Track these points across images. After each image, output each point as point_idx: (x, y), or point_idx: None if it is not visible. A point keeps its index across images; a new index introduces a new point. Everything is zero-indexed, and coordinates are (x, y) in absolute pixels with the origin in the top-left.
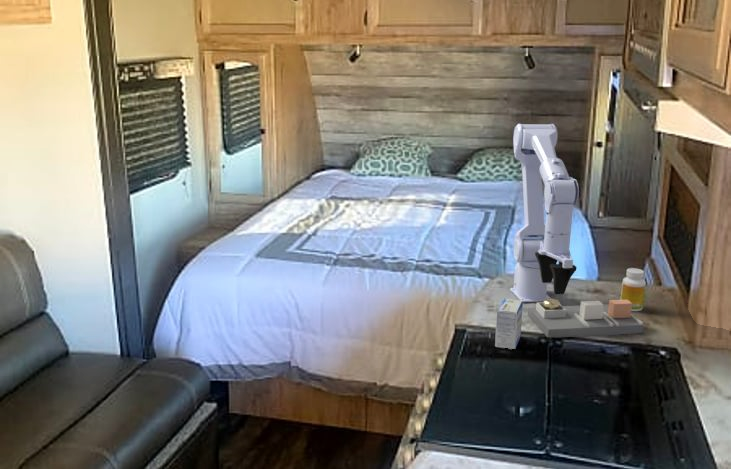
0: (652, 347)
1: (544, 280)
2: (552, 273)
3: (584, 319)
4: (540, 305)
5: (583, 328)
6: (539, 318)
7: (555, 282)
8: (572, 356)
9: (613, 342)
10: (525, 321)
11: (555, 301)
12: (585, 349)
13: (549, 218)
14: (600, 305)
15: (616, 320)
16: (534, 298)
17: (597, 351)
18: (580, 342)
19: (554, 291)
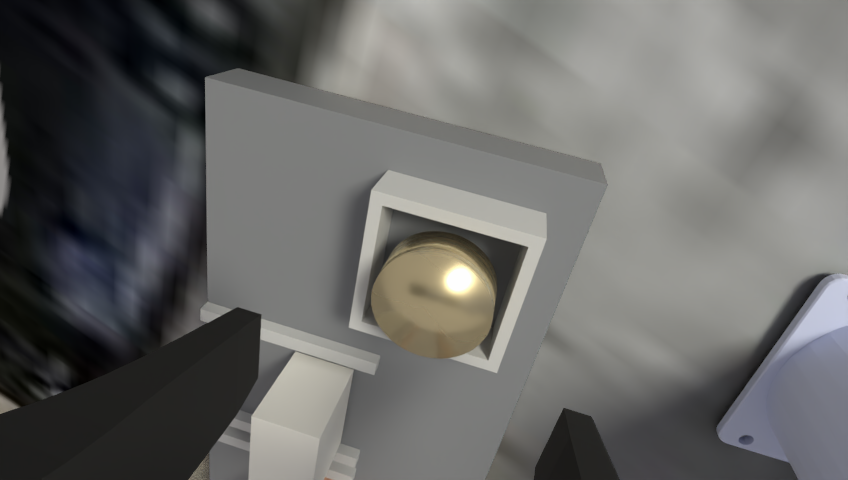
0: None
1: (561, 438)
2: (64, 460)
3: (293, 354)
4: (480, 229)
5: (210, 282)
6: (393, 136)
7: (110, 373)
8: (7, 49)
9: (158, 328)
10: (518, 87)
11: (420, 332)
12: (89, 169)
13: None
14: (250, 478)
15: None
16: (794, 365)
17: (70, 206)
18: (167, 201)
19: (236, 319)
